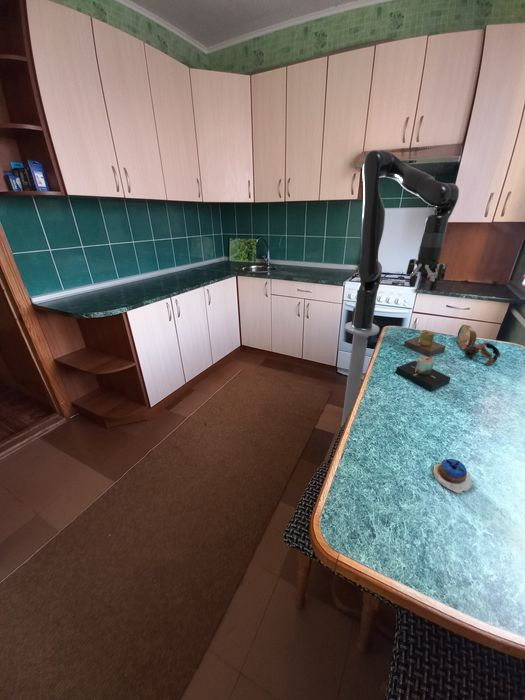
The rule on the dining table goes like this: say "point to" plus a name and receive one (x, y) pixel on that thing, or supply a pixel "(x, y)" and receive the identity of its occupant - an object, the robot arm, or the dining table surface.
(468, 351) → the brown black curved band
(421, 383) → the control box
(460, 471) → the dessert
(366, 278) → the robot arm
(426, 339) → the dial
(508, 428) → the dining table surface
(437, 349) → the walnut box
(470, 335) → the tin
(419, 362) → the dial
